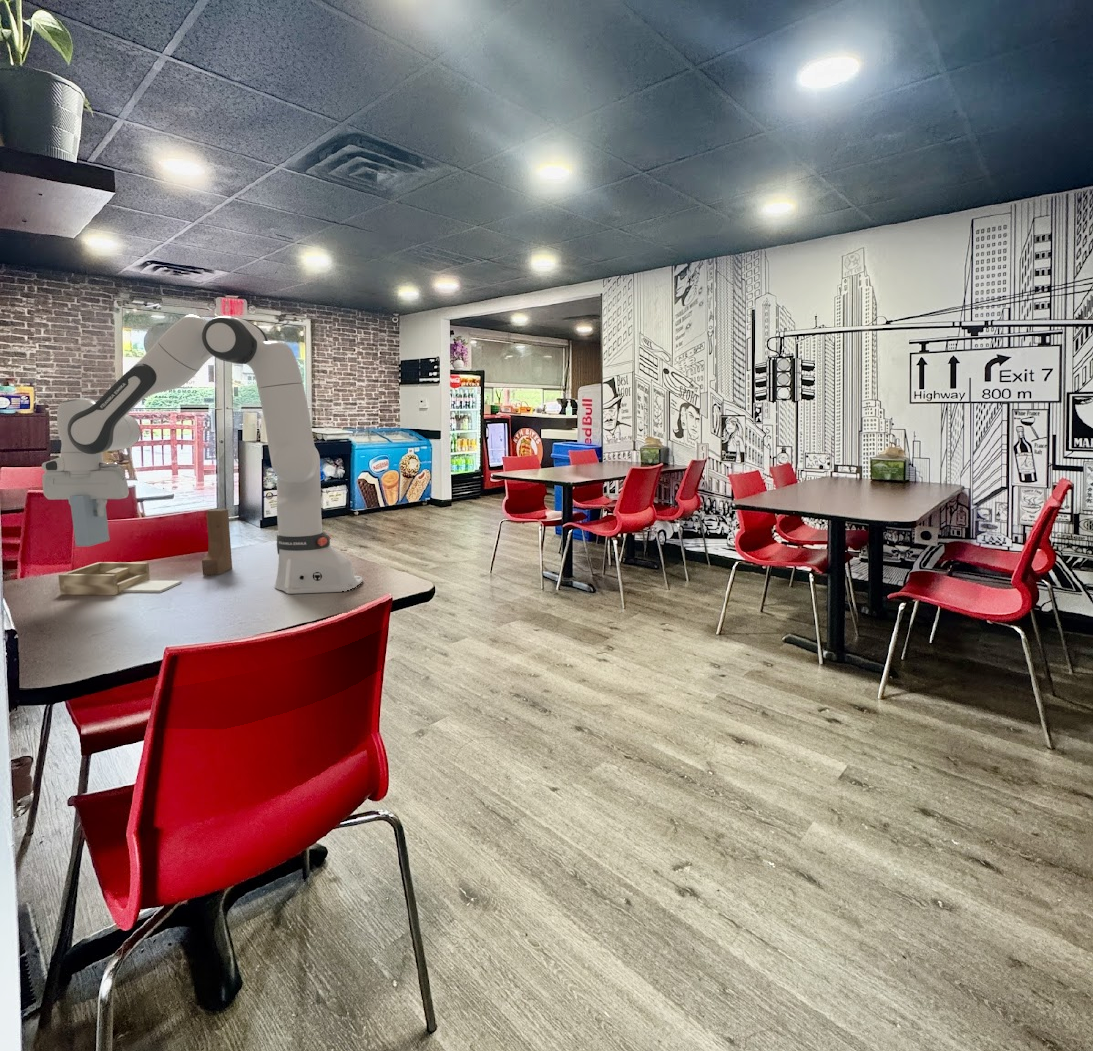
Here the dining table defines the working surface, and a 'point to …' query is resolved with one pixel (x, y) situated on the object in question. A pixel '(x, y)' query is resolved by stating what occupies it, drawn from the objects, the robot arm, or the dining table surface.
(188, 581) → the dining table surface
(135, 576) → the tray
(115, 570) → the offcut oak
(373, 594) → the dining table surface
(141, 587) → the felt pad
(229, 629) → the dining table surface
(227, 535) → the wooden block
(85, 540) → the grey block
